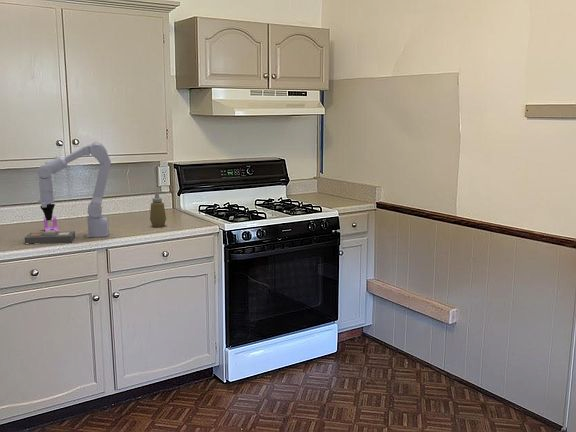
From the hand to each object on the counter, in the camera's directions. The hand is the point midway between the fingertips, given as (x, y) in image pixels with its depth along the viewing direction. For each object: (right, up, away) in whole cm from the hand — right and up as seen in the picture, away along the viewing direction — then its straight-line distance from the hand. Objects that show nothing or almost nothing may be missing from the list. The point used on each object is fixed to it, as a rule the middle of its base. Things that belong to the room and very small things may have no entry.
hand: (49, 220), depth 275 cm
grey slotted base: (+2, -10, -3) cm, 10 cm away
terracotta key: (-4, -9, -4) cm, 11 cm away
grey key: (+2, -8, -3) cm, 9 cm away
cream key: (+8, -9, -2) cm, 12 cm away
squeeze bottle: (+45, -3, +28) cm, 53 cm away
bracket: (-5, -6, +16) cm, 18 cm away
